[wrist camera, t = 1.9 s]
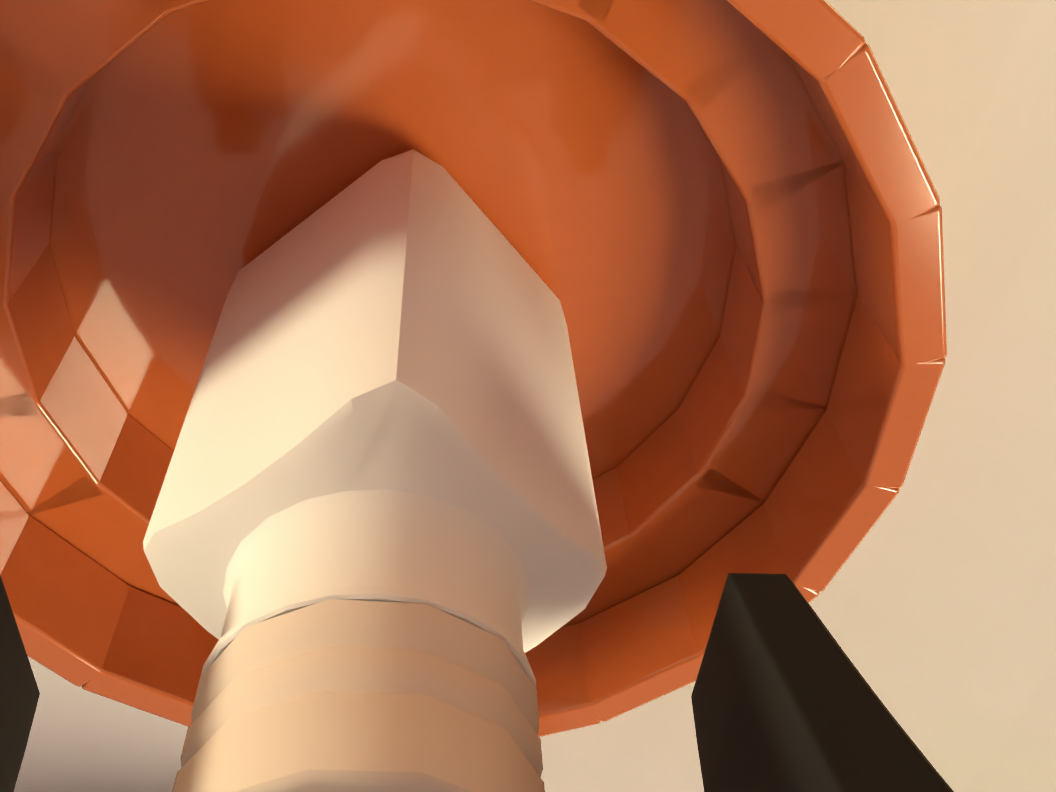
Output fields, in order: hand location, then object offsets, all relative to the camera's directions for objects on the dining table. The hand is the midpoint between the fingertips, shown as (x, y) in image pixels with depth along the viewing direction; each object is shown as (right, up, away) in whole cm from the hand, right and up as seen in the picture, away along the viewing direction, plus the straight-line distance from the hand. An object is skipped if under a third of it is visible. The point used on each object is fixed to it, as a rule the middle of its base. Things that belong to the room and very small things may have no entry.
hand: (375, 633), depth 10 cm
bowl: (0, +4, +6) cm, 7 cm away
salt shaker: (0, +4, +6) cm, 7 cm away
